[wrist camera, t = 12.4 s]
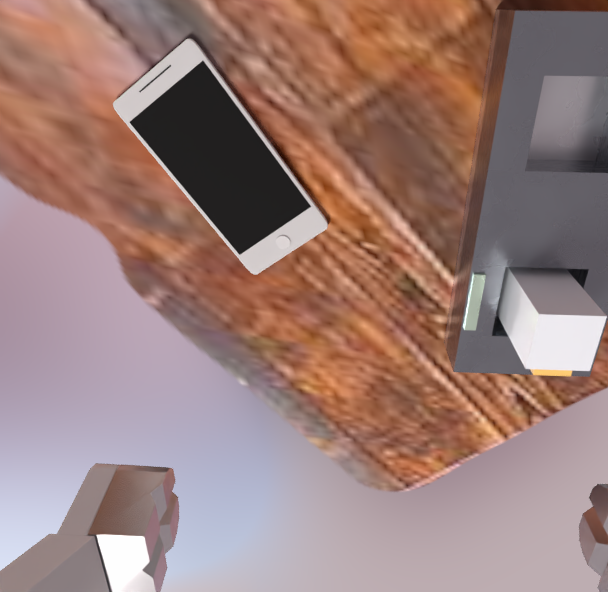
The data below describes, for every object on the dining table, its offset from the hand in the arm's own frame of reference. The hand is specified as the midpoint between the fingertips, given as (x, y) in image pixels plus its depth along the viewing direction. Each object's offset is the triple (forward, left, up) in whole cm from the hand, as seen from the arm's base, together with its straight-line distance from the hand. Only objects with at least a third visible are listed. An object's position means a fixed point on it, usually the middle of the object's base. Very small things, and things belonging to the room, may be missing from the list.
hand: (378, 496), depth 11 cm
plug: (+10, +14, -29) cm, 34 cm away
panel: (+4, +14, -30) cm, 34 cm away
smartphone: (+2, -8, -31) cm, 32 cm away
